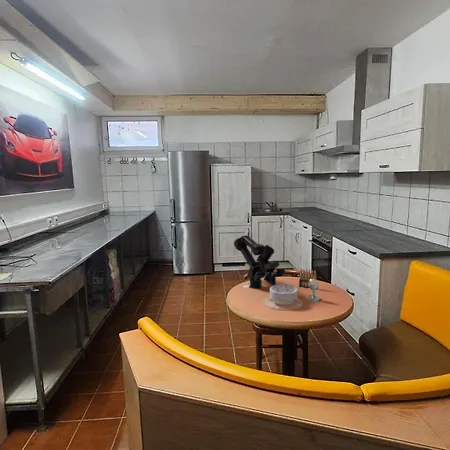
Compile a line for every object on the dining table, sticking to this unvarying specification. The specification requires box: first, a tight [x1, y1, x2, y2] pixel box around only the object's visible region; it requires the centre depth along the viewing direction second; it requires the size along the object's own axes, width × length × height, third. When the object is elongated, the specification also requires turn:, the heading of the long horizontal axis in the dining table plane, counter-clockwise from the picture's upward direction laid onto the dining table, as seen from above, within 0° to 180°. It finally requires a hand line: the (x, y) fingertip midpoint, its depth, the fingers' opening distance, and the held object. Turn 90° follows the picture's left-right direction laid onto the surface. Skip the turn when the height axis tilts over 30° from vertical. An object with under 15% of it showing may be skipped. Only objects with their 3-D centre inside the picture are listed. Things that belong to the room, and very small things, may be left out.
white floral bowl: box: [269, 283, 299, 305], centre depth 182 cm, size 15×15×8 cm
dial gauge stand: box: [306, 278, 321, 303], centre depth 186 cm, size 6×6×12 cm
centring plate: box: [262, 295, 304, 311], centre depth 183 cm, size 22×22×1 cm
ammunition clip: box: [298, 268, 317, 289], centre depth 205 cm, size 11×2×12 cm, turn 59°
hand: (275, 287), depth 188 cm, fingers closed
